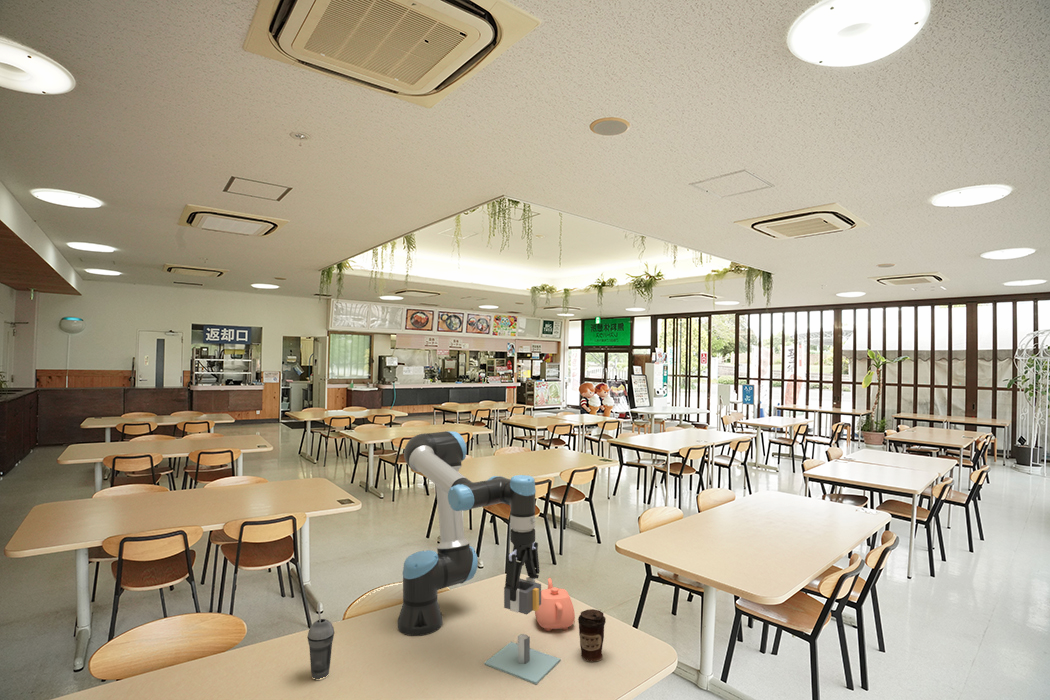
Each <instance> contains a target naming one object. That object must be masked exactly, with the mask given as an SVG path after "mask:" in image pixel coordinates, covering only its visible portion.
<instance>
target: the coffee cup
mask: <svg viewBox="0 0 1050 700" xmlns="http://www.w3.org/2000/svg"><path fill="white" fill-rule="evenodd" d="M577 620H578V621H577V622H578V631H579V632H578V633H579V645H580V646H579V647H580V654H581V658H582V659H583V660H585V661H587V662H591V663H592V662H593V663H594V662H599V661H601V660H603V652H602V651H603V645H604V641H605V640H604V638H605V624H606V617H605V616H604V612H603V611H601V610H599V609H594V608H592V609H591V608H590V609H585V610H583V611H581V612H580V614H579V615H578V619H577Z"/></svg>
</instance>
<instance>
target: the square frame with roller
mask: <svg viewBox="0 0 1050 700" xmlns="http://www.w3.org/2000/svg"><path fill="white" fill-rule="evenodd" d="M514 585H515V584H514ZM503 588H504V589H503V590H504V591H503V595H504V596H503V599H504V600H503V603H504V604H503V605H504V606H503V608H504V609H506V610H507V609H508V610H510V589H506V588H505V586H504V587H503ZM517 589H519V612H518V613H520V614H523V615H526V616H527V615H528V614H530V613H531V612H532V611H534V612H535V611H537V610H539V605H541V591H542V583H539V582H536V581H535V582H531V581H527V580H526V579H523V578H520V579H519V583H518V588H517Z"/></svg>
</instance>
